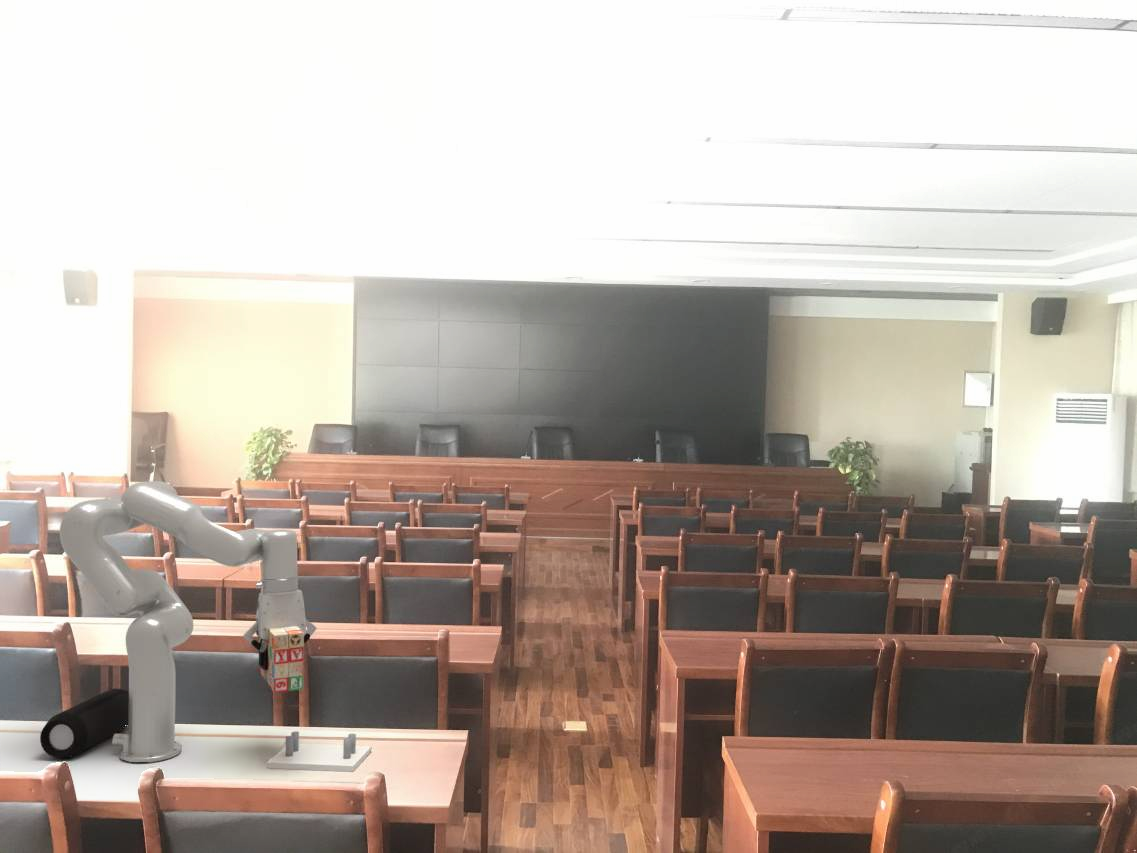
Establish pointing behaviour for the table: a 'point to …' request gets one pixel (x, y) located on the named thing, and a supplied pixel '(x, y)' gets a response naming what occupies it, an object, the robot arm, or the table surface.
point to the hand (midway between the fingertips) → (281, 666)
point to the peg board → (320, 755)
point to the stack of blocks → (285, 659)
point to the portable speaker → (85, 724)
